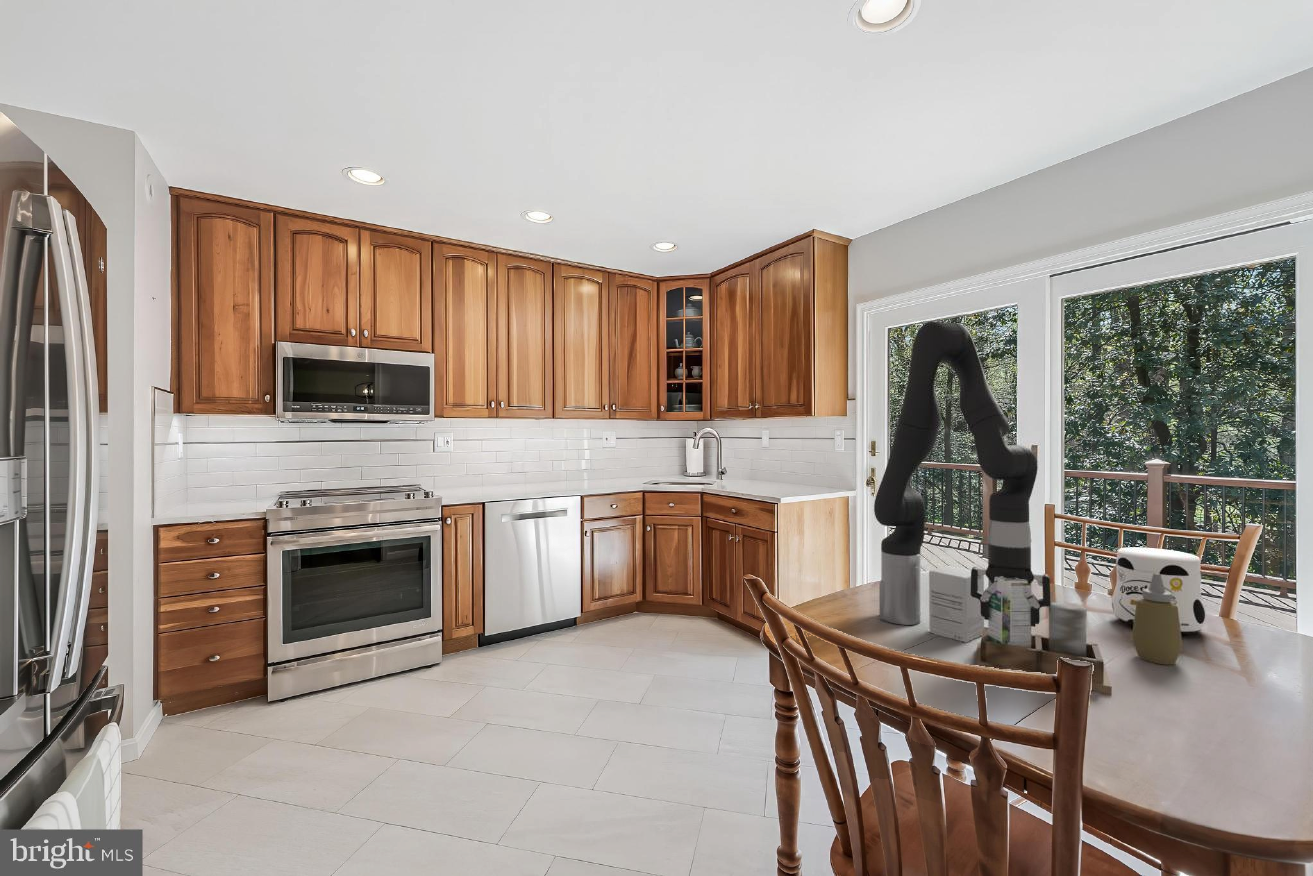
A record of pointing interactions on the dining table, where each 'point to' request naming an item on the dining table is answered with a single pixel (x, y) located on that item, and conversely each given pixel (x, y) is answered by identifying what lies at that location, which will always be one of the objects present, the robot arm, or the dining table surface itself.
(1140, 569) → the milk container
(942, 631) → the supplement box
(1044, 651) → the walnut caddy
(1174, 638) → the squeeze bottle
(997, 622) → the syrup box
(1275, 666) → the dining table surface
